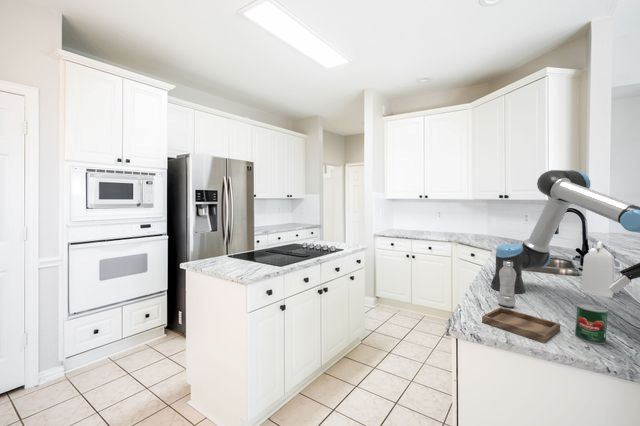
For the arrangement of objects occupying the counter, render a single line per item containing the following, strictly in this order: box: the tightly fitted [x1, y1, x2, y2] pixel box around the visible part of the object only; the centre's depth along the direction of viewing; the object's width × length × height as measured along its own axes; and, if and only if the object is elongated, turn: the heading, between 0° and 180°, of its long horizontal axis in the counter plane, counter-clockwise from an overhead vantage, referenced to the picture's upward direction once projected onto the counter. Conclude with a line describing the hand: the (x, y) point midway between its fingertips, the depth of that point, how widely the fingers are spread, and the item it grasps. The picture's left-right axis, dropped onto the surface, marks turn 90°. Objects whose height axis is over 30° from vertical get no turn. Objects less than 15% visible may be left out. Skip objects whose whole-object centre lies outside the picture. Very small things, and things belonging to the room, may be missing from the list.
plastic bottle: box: [497, 261, 516, 308], centre depth 131 cm, size 6×7×20 cm
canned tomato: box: [574, 302, 609, 345], centre depth 101 cm, size 8×8×11 cm
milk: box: [580, 241, 615, 298], centre depth 151 cm, size 12×12×26 cm
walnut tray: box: [481, 307, 561, 344], centre depth 110 cm, size 20×16×2 cm
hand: (628, 296), depth 99 cm, fingers open, 13 cm apart
